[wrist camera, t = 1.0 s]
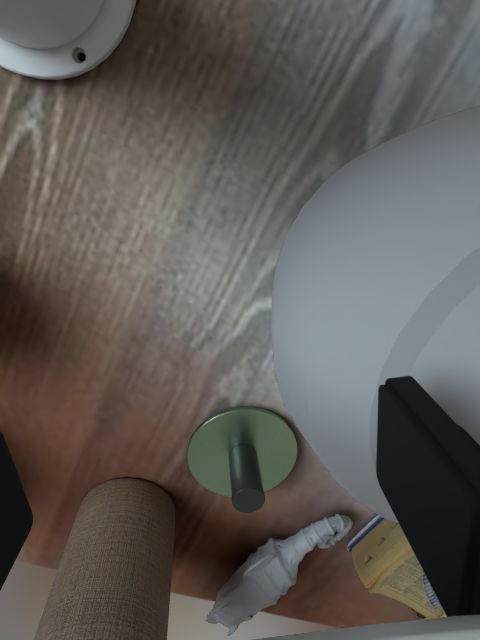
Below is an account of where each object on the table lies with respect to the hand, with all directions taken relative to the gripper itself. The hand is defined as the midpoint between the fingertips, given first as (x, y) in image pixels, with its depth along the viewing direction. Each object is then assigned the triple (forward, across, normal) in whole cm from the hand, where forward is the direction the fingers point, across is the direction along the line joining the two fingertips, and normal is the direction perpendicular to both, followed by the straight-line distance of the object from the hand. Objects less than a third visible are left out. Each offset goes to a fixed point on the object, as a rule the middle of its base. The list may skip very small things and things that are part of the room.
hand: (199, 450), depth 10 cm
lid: (+24, -1, +20) cm, 32 cm away
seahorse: (+25, -12, +31) cm, 42 cm away
